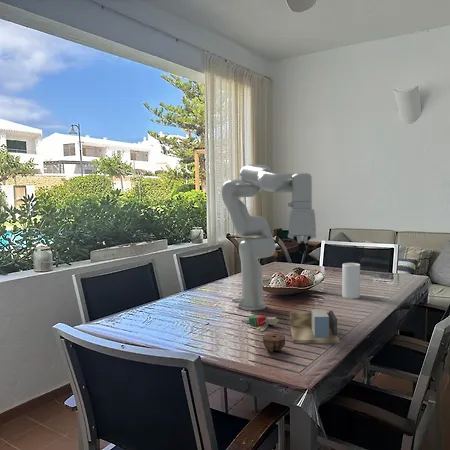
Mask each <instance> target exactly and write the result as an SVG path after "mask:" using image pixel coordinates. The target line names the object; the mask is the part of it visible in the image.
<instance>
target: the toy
mask: <svg viewBox="0 0 450 450" xmlns="http://www.w3.org/2000/svg"><path fill="white" fill-rule="evenodd" d="M278 322H280V319H278V318H277V316H272V315H270V316H267V315H258V314H253V315H251V316H250V317H248V318H244V319H242V320H241V323H243V324H249V326H258V327H257V328H256V329H255V330H256V331H259V332H261V333H262V332H265V330H267V328H268V327H269V326H270V325H272V326H275V325H276V324H278Z"/></svg>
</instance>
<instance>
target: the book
mask: <svg viewBox="0 0 450 450" xmlns="http://www.w3.org/2000/svg"><path fill="white" fill-rule="evenodd" d="M311 312H312V331H313V334H314V337H315V338H329V316H328V314H327V310H326V309H311Z"/></svg>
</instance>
